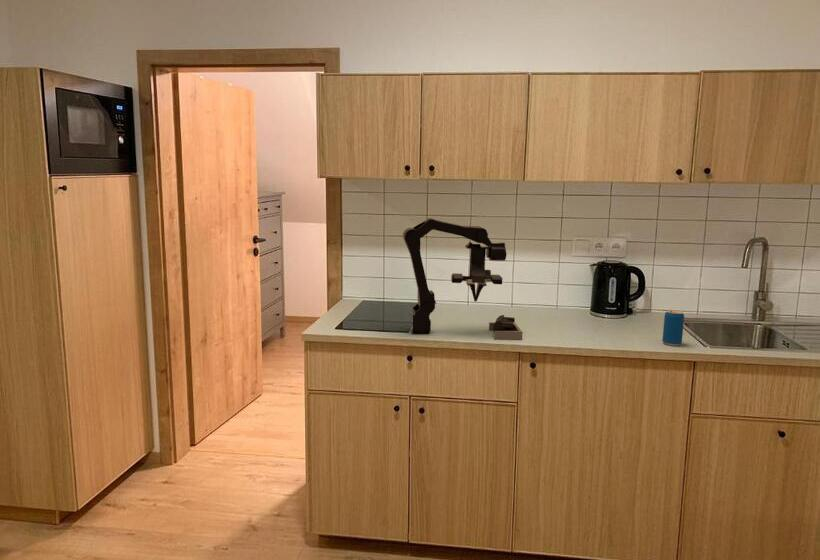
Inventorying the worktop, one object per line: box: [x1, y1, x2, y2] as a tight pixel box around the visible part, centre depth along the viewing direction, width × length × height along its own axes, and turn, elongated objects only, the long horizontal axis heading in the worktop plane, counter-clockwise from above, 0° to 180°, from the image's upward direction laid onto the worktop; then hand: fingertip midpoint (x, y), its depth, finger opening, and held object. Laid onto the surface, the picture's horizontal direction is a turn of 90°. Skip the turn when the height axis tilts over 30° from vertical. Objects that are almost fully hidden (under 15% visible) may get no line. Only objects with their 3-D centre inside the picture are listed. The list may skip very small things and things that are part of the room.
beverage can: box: [662, 309, 685, 347], centre depth 228 cm, size 6×6×12 cm
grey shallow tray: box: [488, 321, 523, 341], centre depth 238 cm, size 10×14×3 cm
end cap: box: [493, 314, 516, 334], centre depth 237 cm, size 10×7×7 cm
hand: (475, 301), depth 240 cm, fingers closed
